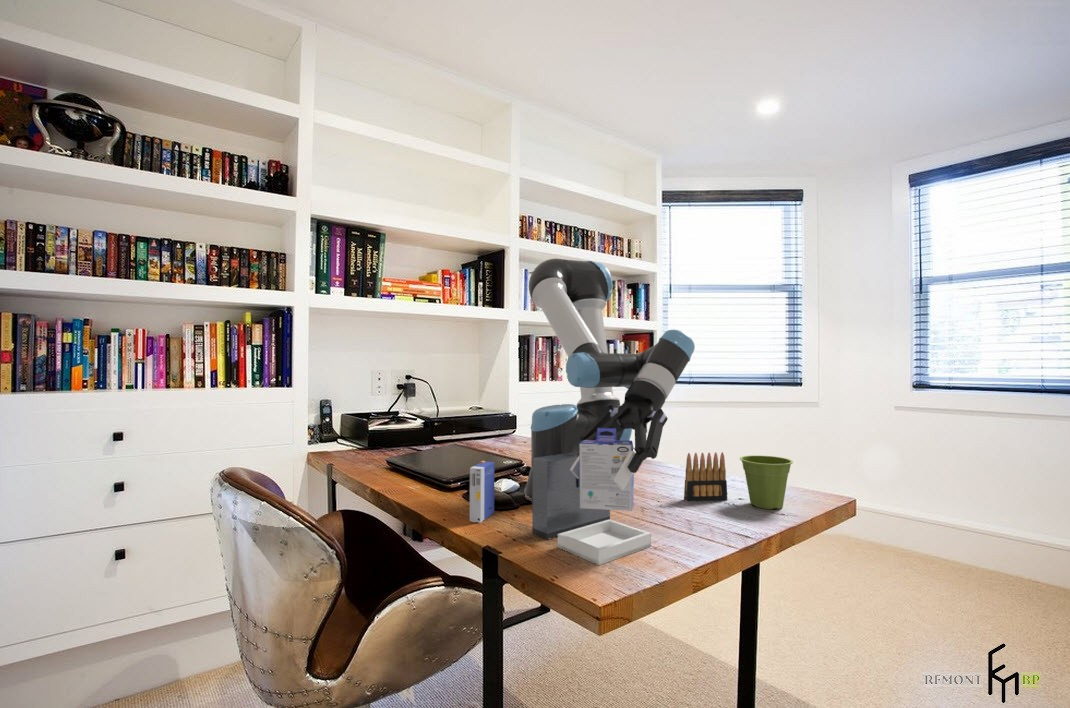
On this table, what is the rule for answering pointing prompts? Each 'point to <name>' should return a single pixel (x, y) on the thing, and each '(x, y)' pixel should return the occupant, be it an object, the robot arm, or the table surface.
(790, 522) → the table surface
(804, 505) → the table surface
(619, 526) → the tray
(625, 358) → the robot arm
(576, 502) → the block
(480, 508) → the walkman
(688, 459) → the ammunition clip
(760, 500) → the plant pot
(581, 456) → the ink cartridge box
